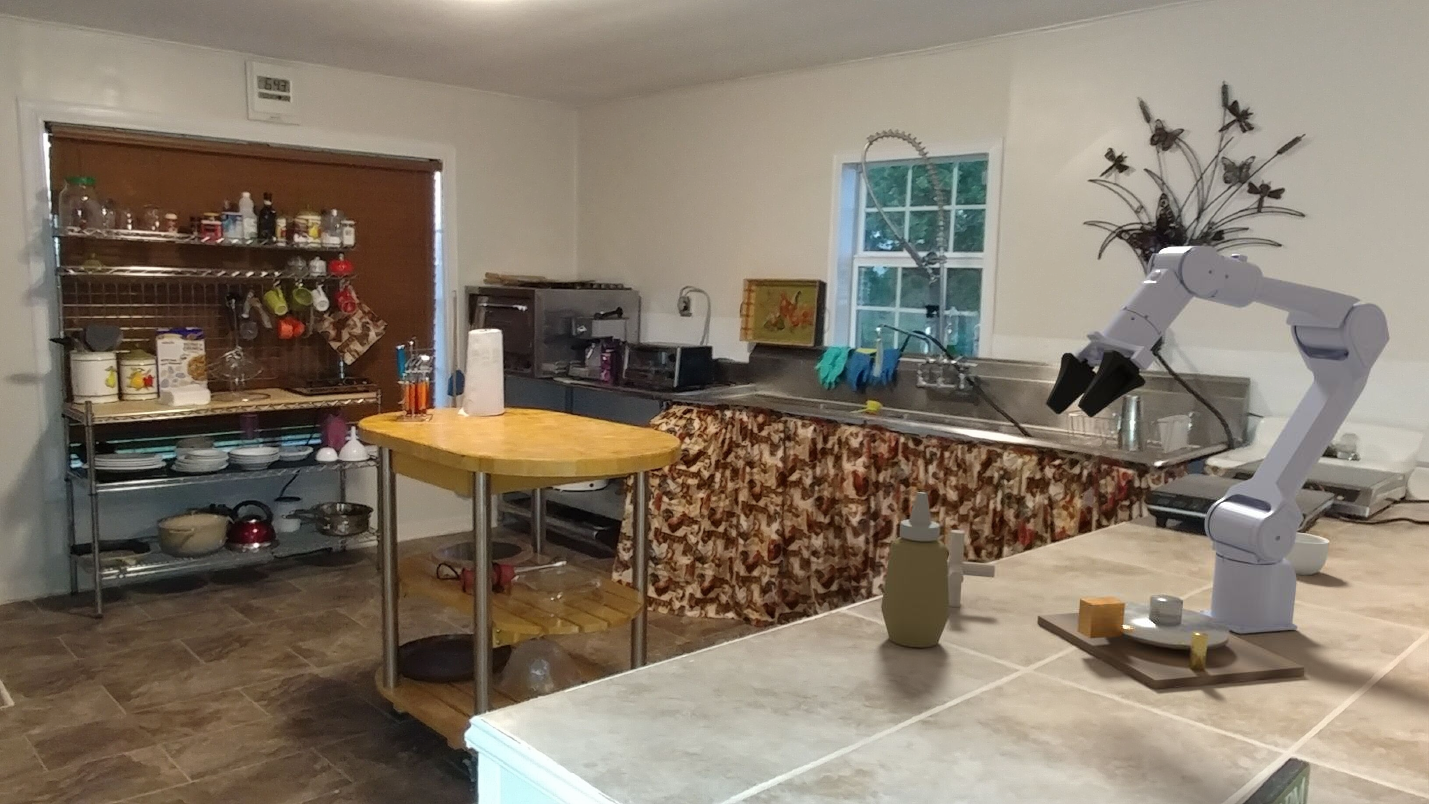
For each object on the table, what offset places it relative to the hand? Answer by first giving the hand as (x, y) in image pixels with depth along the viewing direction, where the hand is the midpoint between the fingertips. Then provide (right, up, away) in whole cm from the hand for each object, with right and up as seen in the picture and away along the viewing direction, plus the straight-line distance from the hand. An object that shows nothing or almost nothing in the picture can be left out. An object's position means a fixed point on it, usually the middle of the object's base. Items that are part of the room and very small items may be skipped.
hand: (1068, 410), depth 125 cm
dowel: (+11, -30, -9) cm, 33 cm away
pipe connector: (-10, -26, +15) cm, 32 cm away
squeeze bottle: (-19, -28, 0) cm, 33 cm away
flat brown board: (+12, -28, +1) cm, 31 cm away
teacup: (+48, -26, +39) cm, 67 cm away
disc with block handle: (+10, -26, 0) cm, 28 cm away
